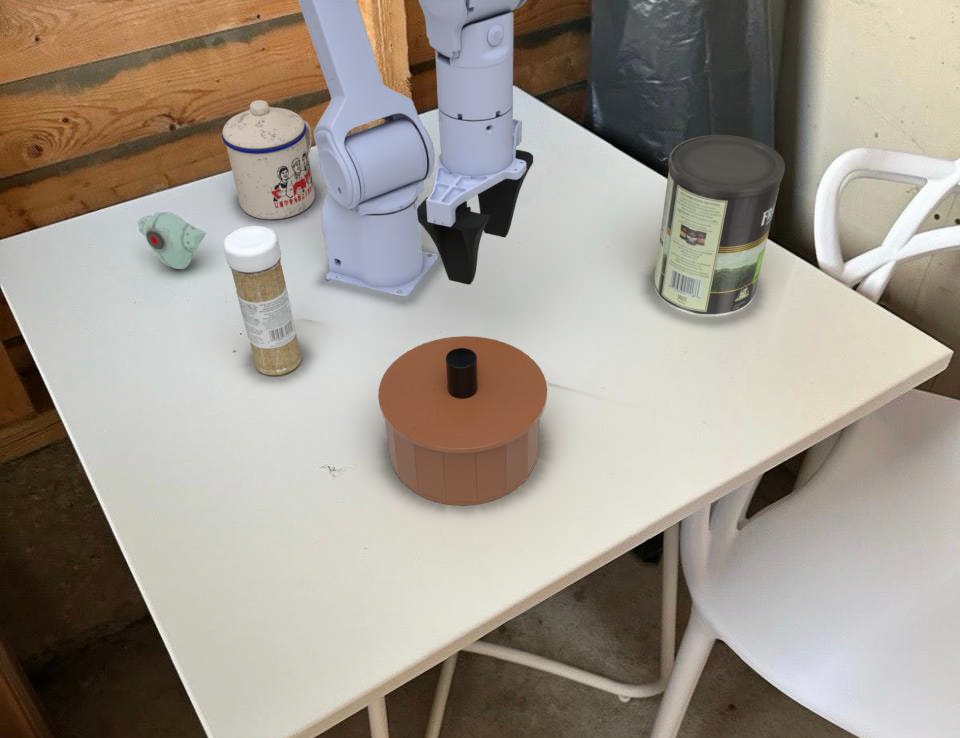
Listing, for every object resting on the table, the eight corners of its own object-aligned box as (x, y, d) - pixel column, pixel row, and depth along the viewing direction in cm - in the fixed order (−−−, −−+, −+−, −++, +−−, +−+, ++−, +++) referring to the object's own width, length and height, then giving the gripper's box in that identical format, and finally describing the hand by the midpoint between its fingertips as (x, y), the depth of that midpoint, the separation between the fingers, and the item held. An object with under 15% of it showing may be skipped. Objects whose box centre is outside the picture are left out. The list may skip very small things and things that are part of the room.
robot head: (221, 268, 98) (206, 211, 93) (197, 289, 95) (180, 232, 91) (160, 251, 100) (142, 195, 96) (135, 271, 98) (116, 215, 93)
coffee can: (754, 265, 96) (784, 137, 86) (754, 326, 89) (787, 194, 79) (655, 256, 98) (672, 129, 88) (647, 314, 91) (665, 184, 81)
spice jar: (293, 341, 89) (268, 218, 79) (309, 368, 86) (284, 244, 77) (247, 355, 88) (215, 231, 78) (261, 383, 85) (230, 259, 75)
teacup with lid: (286, 229, 103) (266, 130, 94) (221, 210, 106) (197, 112, 98) (346, 180, 110) (333, 83, 102) (284, 163, 113) (266, 68, 105)
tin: (365, 479, 76) (355, 422, 72) (430, 387, 84) (425, 330, 80) (503, 523, 73) (503, 466, 68) (558, 422, 81) (561, 365, 76)
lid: (349, 430, 72) (342, 389, 69) (424, 331, 80) (421, 290, 77) (508, 479, 68) (509, 437, 65) (570, 369, 77) (572, 327, 73)
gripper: (485, 157, 65) (488, 314, 75) (557, 73, 74) (551, 223, 84) (396, 139, 67) (410, 294, 77) (477, 60, 76) (480, 207, 86)
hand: (479, 256), depth 80 cm, fingers open, 7 cm apart
